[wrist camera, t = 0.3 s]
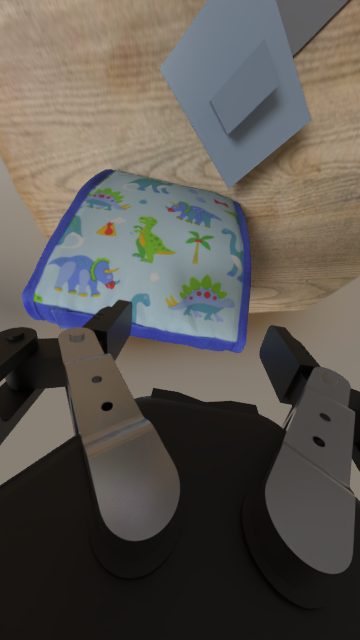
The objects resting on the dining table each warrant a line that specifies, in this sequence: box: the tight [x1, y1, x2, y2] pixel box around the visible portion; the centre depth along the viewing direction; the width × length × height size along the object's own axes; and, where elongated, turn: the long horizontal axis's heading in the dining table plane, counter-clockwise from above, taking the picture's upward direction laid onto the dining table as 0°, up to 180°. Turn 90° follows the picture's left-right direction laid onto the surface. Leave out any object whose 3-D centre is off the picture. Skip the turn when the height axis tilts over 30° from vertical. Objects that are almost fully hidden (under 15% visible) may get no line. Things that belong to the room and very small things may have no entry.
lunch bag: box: [22, 169, 251, 353], centre depth 29 cm, size 22×17×26 cm
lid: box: [160, 0, 311, 189], centre depth 20 cm, size 13×10×6 cm
